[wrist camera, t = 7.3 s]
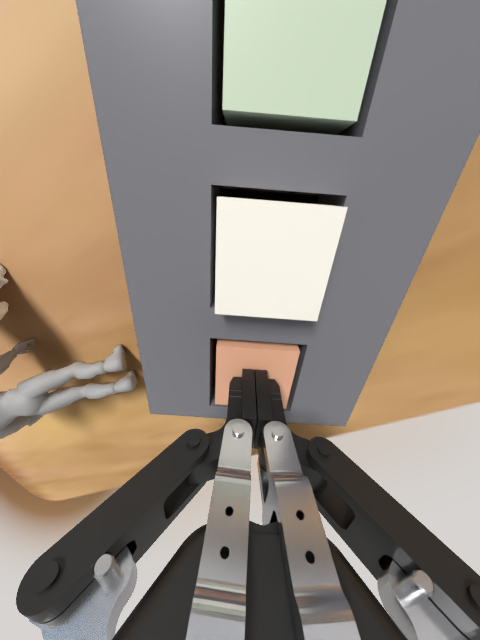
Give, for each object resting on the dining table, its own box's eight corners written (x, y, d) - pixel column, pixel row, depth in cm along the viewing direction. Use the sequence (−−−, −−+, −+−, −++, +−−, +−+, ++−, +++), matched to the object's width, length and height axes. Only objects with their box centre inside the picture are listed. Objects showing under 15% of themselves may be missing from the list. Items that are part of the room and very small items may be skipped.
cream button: (323, 204, 11) (347, 207, 8) (302, 296, 13) (317, 321, 11) (223, 196, 11) (216, 196, 8) (220, 290, 13) (214, 313, 10)
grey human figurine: (119, 315, 20) (-52, 356, 17) (110, 347, 15) (-127, 410, 12) (142, 370, 23) (1, 413, 20) (140, 411, 18) (-44, 474, 15)
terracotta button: (290, 325, 16) (299, 351, 13) (279, 377, 18) (285, 409, 15) (221, 320, 16) (216, 346, 13) (219, 373, 18) (215, 404, 15)
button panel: (481, -54, 9) (642, -222, 5) (327, 385, 20) (345, 426, 16) (114, -91, 8) (22, -294, 5) (167, 374, 20) (150, 413, 16)
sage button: (363, -24, 8) (417, -125, 6) (329, 139, 11) (357, 121, 8) (234, -37, 8) (228, -144, 6) (228, 130, 11) (222, 109, 8)
